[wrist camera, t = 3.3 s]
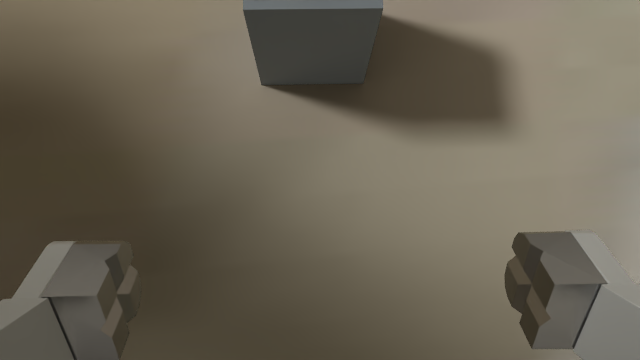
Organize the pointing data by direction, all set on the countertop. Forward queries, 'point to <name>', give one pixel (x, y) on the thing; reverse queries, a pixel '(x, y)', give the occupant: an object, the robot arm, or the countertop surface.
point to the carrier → (312, 39)
